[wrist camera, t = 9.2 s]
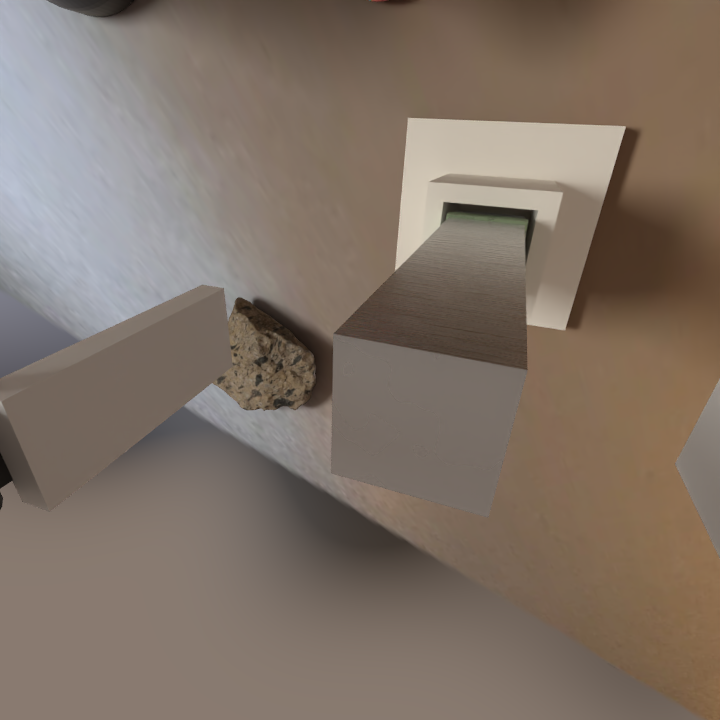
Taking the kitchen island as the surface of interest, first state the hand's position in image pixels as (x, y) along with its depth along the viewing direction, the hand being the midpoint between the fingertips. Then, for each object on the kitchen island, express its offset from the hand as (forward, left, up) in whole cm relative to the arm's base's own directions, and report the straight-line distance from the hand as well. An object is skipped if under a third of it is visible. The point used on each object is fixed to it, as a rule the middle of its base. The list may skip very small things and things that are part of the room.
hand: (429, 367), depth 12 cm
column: (0, 0, -17) cm, 17 cm away
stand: (0, 0, -25) cm, 25 cm away
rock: (+16, -20, -25) cm, 36 cm away
